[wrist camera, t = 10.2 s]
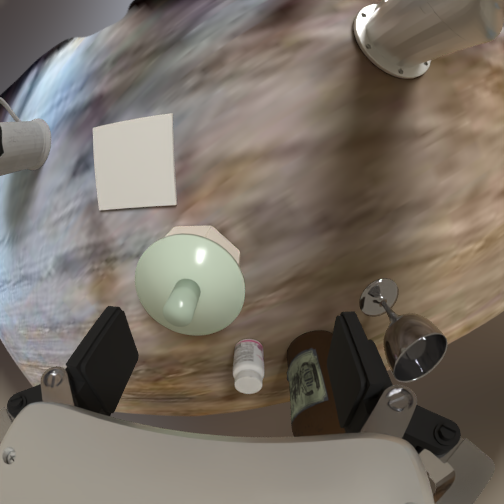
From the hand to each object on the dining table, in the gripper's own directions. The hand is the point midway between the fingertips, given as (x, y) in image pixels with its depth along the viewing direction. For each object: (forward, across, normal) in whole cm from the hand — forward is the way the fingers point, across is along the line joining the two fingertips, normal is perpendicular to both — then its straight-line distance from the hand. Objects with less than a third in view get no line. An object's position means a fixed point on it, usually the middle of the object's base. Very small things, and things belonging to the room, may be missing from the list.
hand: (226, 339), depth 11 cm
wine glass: (+26, -20, +15) cm, 36 cm away
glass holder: (+25, +36, -15) cm, 46 cm away
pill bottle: (+25, +1, +24) cm, 35 cm away
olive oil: (+25, -10, +25) cm, 37 cm away
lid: (+19, +7, +9) cm, 22 cm away
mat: (+25, +16, -6) cm, 30 cm away
